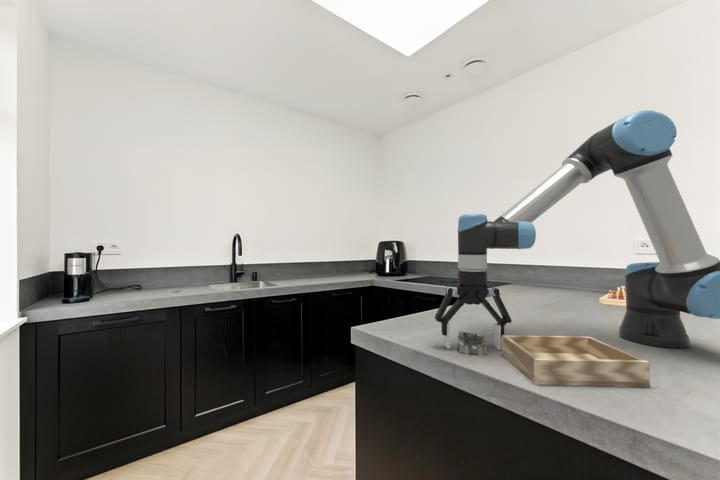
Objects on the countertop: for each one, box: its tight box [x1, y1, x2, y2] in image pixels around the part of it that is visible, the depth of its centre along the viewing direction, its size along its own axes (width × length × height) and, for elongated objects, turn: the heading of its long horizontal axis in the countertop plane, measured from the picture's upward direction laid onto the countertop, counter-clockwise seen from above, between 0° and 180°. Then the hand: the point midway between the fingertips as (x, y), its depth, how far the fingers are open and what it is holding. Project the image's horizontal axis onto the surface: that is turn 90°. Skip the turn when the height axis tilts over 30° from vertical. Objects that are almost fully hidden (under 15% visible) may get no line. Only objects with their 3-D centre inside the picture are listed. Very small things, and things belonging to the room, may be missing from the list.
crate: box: [501, 334, 651, 388], centre depth 70 cm, size 22×17×5 cm
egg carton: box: [456, 329, 488, 356], centre depth 83 cm, size 11×8×4 cm
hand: (472, 347), depth 83 cm, fingers open, 13 cm apart
